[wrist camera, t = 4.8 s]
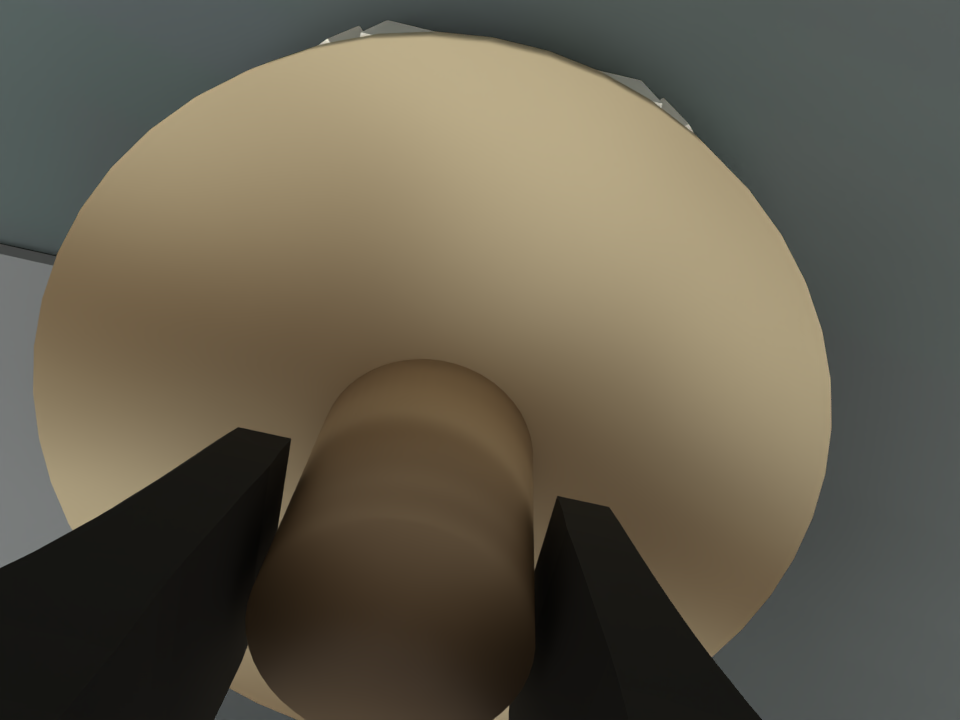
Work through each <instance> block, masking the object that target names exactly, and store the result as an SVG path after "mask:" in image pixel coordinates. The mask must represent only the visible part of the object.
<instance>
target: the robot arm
mask: <svg viewBox="0 0 960 720" xmlns="http://www.w3.org/2000/svg"><path fill="white" fill-rule="evenodd" d="M290 445H291V438H287V437H282V436H278V435H273V434H268V433H264V432H259V431H254V430H250V429H245V428H240V427H237V428H236V429H234V430H232V431H231V432H229V433H227V434H226V435H224V436H223V437H221V438H219V439H218V440H216V441H215V442H213V443H212V444H210V445H209V446H207V447H206V448H204V449H203V450H201V451H200V452H198V453H197V454H195V455H194V456H192V457H191V458H189V459H188V460H187V461H185V462H184V463H182V464H180V465H179V466H177V467H176V468H174V469H173V470H171V471H170V472H168V473H167V474H165V475H164V476H162V477H161V478H159V479H158V480H156V481H154V482H153V483H151V484H150V485H148V486H146V487H145V488H143V489H142V490H140V491H138V492H137V493H135V494H134V495H132V496H130V497H129V498H127V499H125V500H124V501H122V502H121V503H119V504H117V505H116V506H114V507H113V508H111V509H109V510H108V511H106V512H104V513H103V514H101V515H99V516H97V517H96V518H94V519H92V520H90V521H89V522H87V523H85V524H83V525H81V526H79V527H78V528H76V529H74V530H72V531H70V532H69V533H67V534H65V535H63V536H61V537H60V538H58V539H56V540H54V541H52V542H50V543H49V544H47V545H45V546H43V547H41V548H40V549H38V550H36V551H34V552H32V553H30V554H28V555H26V556H24V557H22V558H20V559H18V560H16V561H14V562H11V563H9V564H7V565H5V566H3V567H1V568H0V720H214V718H215V716H216V714H217V712H218V710H219V708H220V706H221V704H222V702H223V700H224V698H225V696H226V694H227V691H228V689H229V687H230V685H231V683H232V681H233V679H234V677H235V675H236V673H237V671H238V669H239V666H240V664H241V662H242V660H243V657H244V655H245V652H246V649H247V646H248V642H247V637H246V624H245V616H246V610H247V603H248V600H249V597H250V593H251V590H252V588H253V585H254V583H255V581H256V578H257V576H258V574H259V571H260V569H261V567H262V565H263V562H264V560H265V558H266V555H267V553H268V551H269V548H270V546H271V544H272V542H273V539H274V537H275V535H276V532H277V530H278V524H279V517H280V511H281V504H282V497H283V491H284V484H285V478H286V471H287V464H288V458H289V451H290ZM534 587H535V653H534V660H533V664H532V667H531V670H530V673H529V676H528V678H527V680H526V682H525V684H524V686H523V688H522V690H521V691H520V693H519V694H518V695H517V697H516V698H515V699H514V701H513V702H512V703H511V704H510V705H509V720H762V719H761V718H760V717H759V716H758V714H757V713H756V712H755V711H754V710H753V709H752V707H751V706H750V705H749V704H748V703H747V701H746V700H745V699H744V698H743V696H742V695H741V694H740V693H739V691H738V690H737V689H736V688H735V686H734V685H733V684H732V683H731V681H730V680H729V679H728V678H727V676H726V675H725V674H724V672H723V671H722V670H721V669H720V667H719V666H718V665H717V664H716V662H715V661H714V660H713V659H712V657H711V656H710V655H709V653H708V652H707V651H706V649H705V648H704V647H703V645H702V644H701V643H700V641H699V640H698V639H697V637H696V636H695V634H694V633H693V632H692V630H691V629H690V628H689V626H688V625H687V623H686V622H685V621H684V619H683V618H682V616H681V615H680V613H679V612H678V611H677V609H676V608H675V606H674V605H673V603H672V602H671V601H670V599H669V598H668V596H667V595H666V593H665V592H664V590H663V589H662V587H661V586H660V584H659V583H658V581H657V580H656V578H655V577H654V575H653V574H652V572H651V571H650V569H649V568H648V566H647V564H646V563H645V561H644V560H643V558H642V557H641V555H640V554H639V552H638V551H637V549H636V547H635V546H634V544H633V543H632V541H631V540H630V538H629V536H628V535H627V533H626V532H625V530H624V529H623V527H622V525H621V524H620V522H619V521H618V519H617V518H616V516H615V515H614V513H613V512H612V510H611V509H610V507H607V506H603V505H598V504H593V503H589V502H584V501H579V500H575V499H570V498H565V497H561V496H557V498H556V501H555V505H554V508H553V511H552V515H551V518H550V521H549V524H548V528H547V531H546V534H545V538H544V541H543V544H542V547H541V551H540V554H539V557H538V561H537V564H536V567H535V570H534Z"/></svg>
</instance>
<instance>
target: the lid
mask: <svg viewBox="0 0 960 720" xmlns="http://www.w3.org/2000/svg"><path fill="white" fill-rule="evenodd" d="M33 396H34V404H35V412H36V420H37V428H38V435H39V441H40V444H41V448H42V452H43V455H44V459H45V462H46V466H47V470H48V473H49V477H50V481H51V483H52V486H53V488H54V491H55V493H56V495H57V498H58V500H59V502H60V505H61V507H62V509H63V512H64V514H65V517H66V519H67V521H68V524H69V525H70V527H71V529H72V530H74V529H76V528H78V527H79V526H81V525H83V524H85V523H87V522H89V521H90V520H92V519H94V518H96V517H97V516H99V515H101V514H103V513H104V512H106V511H108V510H109V509H111V508H113V507H114V506H116V505H117V504H119V503H121V502H122V501H124V500H125V499H127V498H129V497H130V496H132V495H134V494H135V493H137V492H138V491H140V490H142V489H143V488H145V487H146V486H148V485H150V484H151V483H153V482H154V481H156V480H158V479H159V478H161V477H162V476H164V475H165V474H167V473H168V472H170V471H171V470H173V469H174V468H176V467H177V466H179V465H180V464H182V463H184V462H185V461H187V460H188V459H189V458H191V457H192V456H194V455H195V454H197V453H198V452H200V451H201V450H203V449H204V448H206V447H207V446H209V445H210V444H212V443H213V442H215V441H216V440H218V439H219V438H221V437H223V436H224V435H226V434H227V433H229V432H231V431H232V430H234V429H236V428H237V427H240V428H245V429H250V430H254V431H259V432H264V433H268V434H273V435H278V436H282V437H287V438H291V445H290V451H289V458H288V464H287V471H286V478H285V484H284V491H283V497H282V504H281V511H280V517H279V524H278V530H277V532H276V535H275V537H274V539H273V542H272V544H271V546H270V548H269V551H268V553H267V555H266V558H265V560H264V562H263V565H262V567H261V569H260V571H259V574H258V576H257V578H256V581H255V583H254V585H253V588H252V590H251V593H250V597H249V600H248V603H247V610H246V616H245V624H246V637H247V642H248V646H247V649H246V652H245V655H244V657H243V660H242V662H241V664H240V666H239V669H238V671H237V673H236V675H235V677H234V679H233V681H232V683H231V685H230V687H229V688H230V689H232V690H234V691H236V692H237V693H239V694H241V695H243V696H245V697H247V698H249V699H251V700H252V701H254V702H256V703H258V704H261V705H263V706H265V707H268V708H270V709H273V710H275V711H277V712H280V713H282V714H285V715H287V716H289V717H292V718H294V719H297V720H509V705H510V704H511V703H512V702H513V701H514V699H515V698H516V697H517V695H518V694H519V693H520V691H521V690H522V688H523V686H524V684H525V682H526V680H527V678H528V676H529V673H530V670H531V667H532V664H533V660H534V653H535V587H534V570H535V567H536V564H537V561H538V557H539V554H540V551H541V547H542V544H543V541H544V538H545V534H546V531H547V528H548V524H549V521H550V518H551V515H552V511H553V508H554V505H555V501H556V498H557V496H561V497H565V498H570V499H575V500H579V501H584V502H589V503H593V504H598V505H603V506H607V507H610V509H611V510H612V512H613V513H614V515H615V516H616V518H617V519H618V521H619V522H620V524H621V525H622V527H623V529H624V530H625V532H626V533H627V535H628V536H629V538H630V540H631V541H632V543H633V544H634V546H635V547H636V549H637V551H638V552H639V554H640V555H641V557H642V558H643V560H644V561H645V563H646V564H647V566H648V568H649V569H650V571H651V572H652V574H653V575H654V577H655V578H656V580H657V581H658V583H659V584H660V586H661V587H662V589H663V590H664V592H665V593H666V595H667V596H668V598H669V599H670V601H671V602H672V603H673V605H674V606H675V608H676V609H677V611H678V612H679V613H680V615H681V616H682V618H683V619H684V621H685V622H686V623H687V625H688V626H689V628H690V629H691V630H692V632H693V633H694V634H695V636H696V637H697V639H698V640H699V641H700V643H701V644H702V645H703V647H704V648H705V649H706V651H707V652H708V653H709V655H710V656H711V657H713V656H714V655H715V654H716V653H717V652H718V651H719V650H720V649H721V648H722V647H723V646H724V645H726V644H727V643H728V642H729V641H730V640H731V639H732V638H733V637H734V636H735V635H736V634H737V633H739V632H740V631H741V630H742V629H743V628H744V626H745V625H746V624H747V623H748V622H749V620H750V619H751V618H752V617H753V616H754V615H755V613H756V612H757V611H758V610H759V609H760V607H761V606H762V605H763V604H764V603H765V601H766V600H767V599H768V598H769V597H770V595H771V594H772V592H773V591H774V589H775V588H776V586H777V584H778V583H779V581H780V580H781V578H782V577H783V575H784V573H785V572H786V570H787V569H788V567H789V566H790V564H791V562H792V561H793V559H794V557H795V555H796V553H797V551H798V549H799V546H800V544H801V542H802V540H803V538H804V535H805V533H806V531H807V529H808V527H809V524H810V522H811V520H812V518H813V514H814V511H815V508H816V504H817V501H818V497H819V494H820V490H821V487H822V483H823V480H824V477H825V472H826V465H827V457H828V450H829V442H830V435H831V379H830V373H829V368H828V362H827V356H826V350H825V344H824V339H823V333H822V329H821V326H820V323H819V320H818V317H817V314H816V311H815V308H814V305H813V302H812V299H811V296H810V293H809V290H808V287H807V284H806V282H805V280H804V278H803V276H802V274H801V272H800V270H799V268H798V266H797V264H796V262H795V260H794V258H793V256H792V255H791V253H790V251H789V249H788V247H787V245H786V243H785V241H784V239H783V237H782V235H781V234H780V232H779V231H778V229H777V228H776V227H775V225H774V224H773V223H772V221H771V220H770V218H769V217H768V216H767V214H766V213H765V211H764V210H763V209H762V207H761V206H760V205H759V203H758V202H757V200H756V199H755V198H754V196H753V195H752V193H751V192H750V191H749V189H748V188H747V187H746V186H745V185H744V184H743V183H742V182H741V181H740V180H739V179H738V178H737V177H736V176H735V175H734V174H733V173H732V172H731V171H730V170H729V169H728V168H727V167H726V166H725V165H724V164H723V163H722V162H721V161H720V160H719V158H718V157H717V156H716V155H715V154H714V153H713V152H712V151H711V150H710V149H709V148H708V147H707V146H706V145H705V144H704V143H703V142H702V141H701V140H700V139H699V138H698V137H697V136H696V135H695V134H694V133H693V132H692V131H690V130H689V129H688V128H687V127H685V126H684V125H683V124H681V123H680V122H679V121H678V120H676V119H675V118H674V117H672V116H671V115H670V114H669V113H667V112H666V111H665V110H663V109H662V108H661V107H659V106H658V105H657V104H655V103H654V102H653V101H652V100H650V99H649V98H647V97H645V96H643V95H642V94H640V93H638V92H636V91H635V90H633V89H631V88H629V87H628V86H626V85H624V84H622V83H620V82H619V81H617V80H615V79H613V78H612V77H610V76H608V75H606V74H605V73H603V72H601V71H598V70H596V69H593V68H591V67H588V66H586V65H583V64H581V63H578V62H576V61H573V60H571V59H568V58H566V57H563V56H560V55H558V54H555V53H553V52H550V51H548V50H543V49H539V48H535V47H531V46H527V45H523V44H519V43H515V42H510V41H506V40H502V39H498V38H494V37H486V36H476V35H466V34H456V33H446V32H436V31H433V32H408V33H383V34H374V35H369V36H363V37H357V38H352V39H346V40H341V41H335V42H330V43H325V44H321V45H318V46H315V47H312V48H309V49H306V50H303V51H300V52H297V53H294V54H291V55H288V56H285V57H282V58H279V59H276V60H273V61H270V62H268V63H265V64H263V65H260V66H258V67H255V68H253V69H250V70H248V71H246V72H244V73H242V74H240V75H238V76H236V77H234V78H232V79H230V80H228V81H226V82H224V83H222V84H220V85H218V86H216V87H214V88H212V89H210V90H208V91H207V92H205V93H203V94H201V95H199V96H197V97H195V98H194V99H192V100H191V101H189V102H188V103H187V104H185V105H184V106H182V107H181V108H180V109H178V110H177V111H175V112H174V113H173V114H171V115H170V116H168V117H167V118H166V119H164V120H163V121H161V122H160V123H159V124H157V125H156V126H155V127H153V128H152V129H150V130H149V131H148V132H147V133H146V134H145V135H144V136H143V137H142V138H141V139H140V140H139V141H138V142H137V143H136V144H135V145H134V146H133V147H132V148H131V149H130V150H129V151H128V152H127V153H126V154H125V155H124V156H123V157H122V158H121V159H120V160H119V161H118V162H117V163H116V164H115V165H114V166H113V167H112V168H111V169H110V170H109V172H108V173H107V174H106V176H105V177H104V178H103V180H102V181H101V182H100V184H99V185H98V186H97V188H96V189H95V190H94V192H93V193H92V194H91V196H90V197H89V199H88V200H87V201H86V203H85V204H84V205H83V207H82V208H81V209H80V211H79V213H78V215H77V217H76V219H75V221H74V223H73V225H72V227H71V229H70V230H69V232H68V234H67V236H66V238H65V240H64V242H63V244H62V246H61V248H60V250H59V251H58V253H57V256H56V259H55V262H54V265H53V268H52V271H51V274H50V277H49V280H48V283H47V286H46V289H45V292H44V295H43V298H42V302H41V308H40V314H39V320H38V325H37V331H36V337H35V343H34V369H33Z"/></svg>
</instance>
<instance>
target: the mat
mask: <svg viewBox="0 0 960 720" xmlns="http://www.w3.org/2000/svg"><path fill="white" fill-rule="evenodd" d="M55 259H56V256H52V255H48V254H43V253H39V252H34V251H30V250H25V249H21V248H16V247H12V246H7V245H3V244H0V568H1V567H3V566H5V565H7V564H9V563H11V562H14V561H16V560H18V559H20V558H22V557H24V556H26V555H28V554H30V553H32V552H34V551H36V550H38V549H40V548H41V547H43V546H45V545H47V544H49V543H50V542H52V541H54V540H56V539H58V538H60V537H61V536H63V535H65V534H67V533H69V532H70V531H72V529H71V527H70V525H69V524H68V521H67V519H66V517H65V514H64V512H63V509H62V507H61V505H60V502H59V500H58V498H57V495H56V493H55V491H54V488H53V486H52V483H51V481H50V477H49V473H48V470H47V466H46V462H45V459H44V455H43V452H42V448H41V444H40V441H39V435H38V428H37V420H36V412H35V404H34V396H33V369H34V343H35V337H36V331H37V325H38V320H39V314H40V308H41V302H42V298H43V295H44V292H45V289H46V286H47V283H48V280H49V277H50V274H51V271H52V268H53V265H54V262H55Z"/></svg>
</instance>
